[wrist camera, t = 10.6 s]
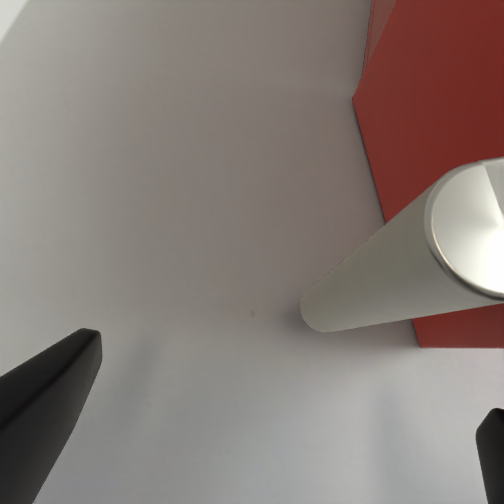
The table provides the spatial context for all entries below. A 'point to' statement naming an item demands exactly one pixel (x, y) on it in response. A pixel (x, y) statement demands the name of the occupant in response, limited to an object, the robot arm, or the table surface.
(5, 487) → the robot arm
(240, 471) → the table surface
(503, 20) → the red cabinet door
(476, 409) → the table surface
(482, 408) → the table surface
